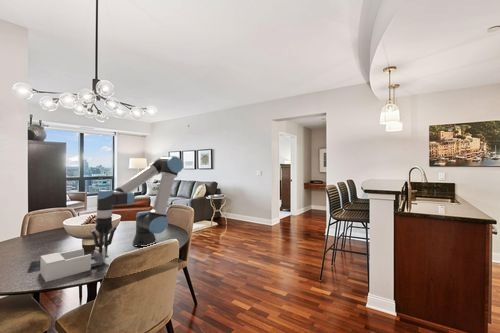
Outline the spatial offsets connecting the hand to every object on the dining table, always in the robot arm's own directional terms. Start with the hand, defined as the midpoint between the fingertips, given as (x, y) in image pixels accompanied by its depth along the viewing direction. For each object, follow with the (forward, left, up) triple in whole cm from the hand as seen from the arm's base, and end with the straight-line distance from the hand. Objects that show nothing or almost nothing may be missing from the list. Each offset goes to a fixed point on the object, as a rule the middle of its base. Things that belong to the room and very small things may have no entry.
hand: (102, 258), depth 132 cm
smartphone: (+25, -18, -3) cm, 31 cm away
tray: (+10, 0, -1) cm, 10 cm away
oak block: (-3, -12, -2) cm, 13 cm away
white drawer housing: (+17, 0, -2) cm, 17 cm away
